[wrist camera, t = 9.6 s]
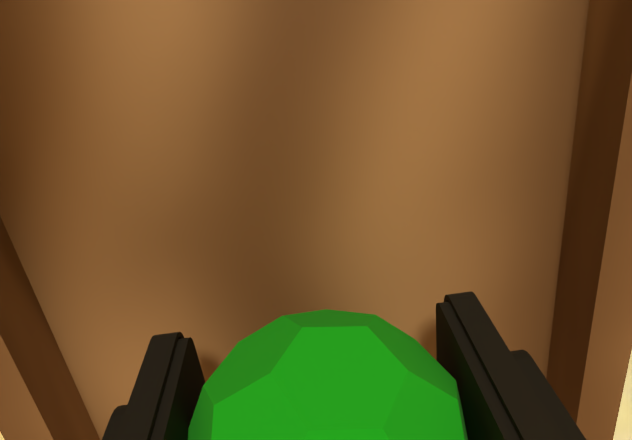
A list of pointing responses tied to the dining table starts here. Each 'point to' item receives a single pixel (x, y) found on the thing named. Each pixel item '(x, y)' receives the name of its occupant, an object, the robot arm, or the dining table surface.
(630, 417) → the dining table surface
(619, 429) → the dining table surface
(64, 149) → the tray
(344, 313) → the polyhedron
